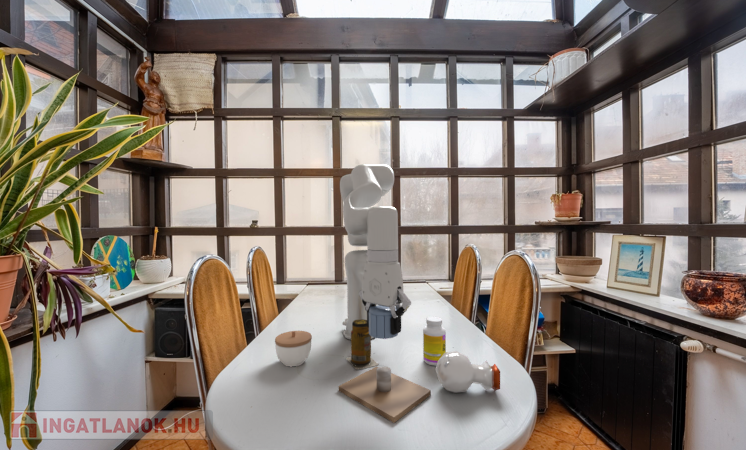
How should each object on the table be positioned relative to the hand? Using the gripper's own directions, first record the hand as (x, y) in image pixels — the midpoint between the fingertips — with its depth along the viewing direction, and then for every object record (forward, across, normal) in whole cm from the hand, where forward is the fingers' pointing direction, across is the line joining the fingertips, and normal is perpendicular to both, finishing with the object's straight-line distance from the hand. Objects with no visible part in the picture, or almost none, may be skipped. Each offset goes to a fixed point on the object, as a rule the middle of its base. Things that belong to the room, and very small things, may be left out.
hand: (383, 329), depth 75 cm
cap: (+1, 0, 0) cm, 1 cm away
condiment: (+16, -16, +8) cm, 24 cm away
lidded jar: (+16, -32, -6) cm, 36 cm away
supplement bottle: (+16, 0, +23) cm, 28 cm away
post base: (+16, 0, 0) cm, 16 cm away
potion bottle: (+16, +14, +16) cm, 26 cm away
